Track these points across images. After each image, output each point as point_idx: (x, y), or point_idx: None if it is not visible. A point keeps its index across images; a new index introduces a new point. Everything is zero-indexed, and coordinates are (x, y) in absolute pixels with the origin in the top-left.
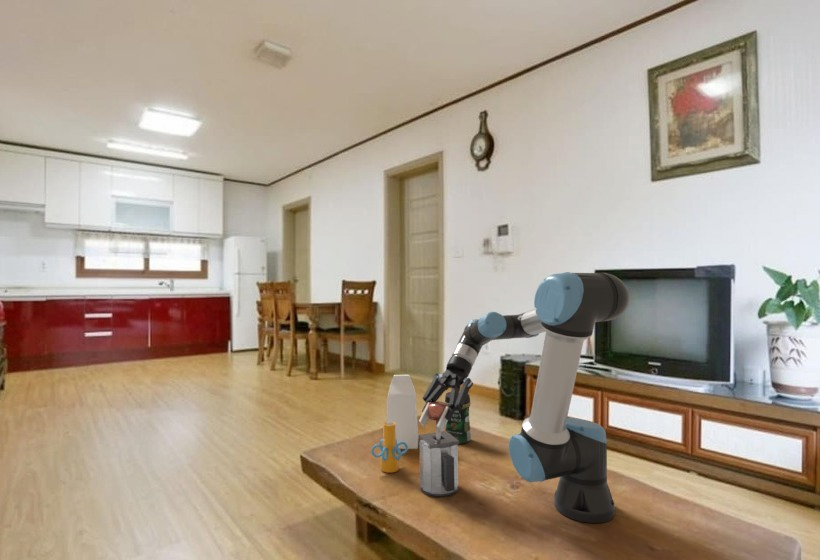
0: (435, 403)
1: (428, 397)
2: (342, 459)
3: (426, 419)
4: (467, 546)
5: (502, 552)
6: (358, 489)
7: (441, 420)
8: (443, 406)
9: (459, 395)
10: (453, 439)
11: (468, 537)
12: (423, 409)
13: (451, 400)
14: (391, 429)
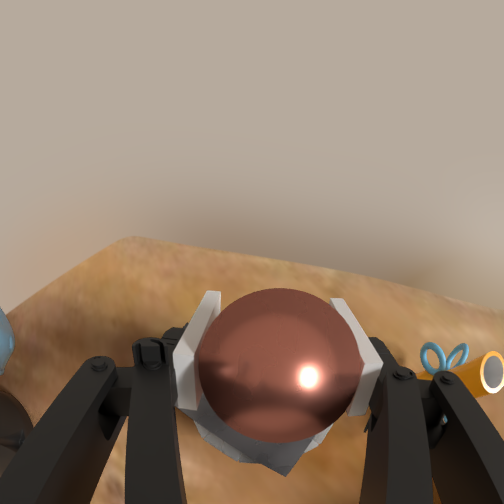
0: (310, 366)
1: (418, 390)
2: (498, 349)
3: None
4: (119, 253)
5: (76, 267)
6: (391, 287)
7: (200, 304)
8: (205, 334)
9: (67, 425)
10: (199, 406)
11: (124, 272)
12: (379, 345)
13: (150, 393)
14: (472, 369)
